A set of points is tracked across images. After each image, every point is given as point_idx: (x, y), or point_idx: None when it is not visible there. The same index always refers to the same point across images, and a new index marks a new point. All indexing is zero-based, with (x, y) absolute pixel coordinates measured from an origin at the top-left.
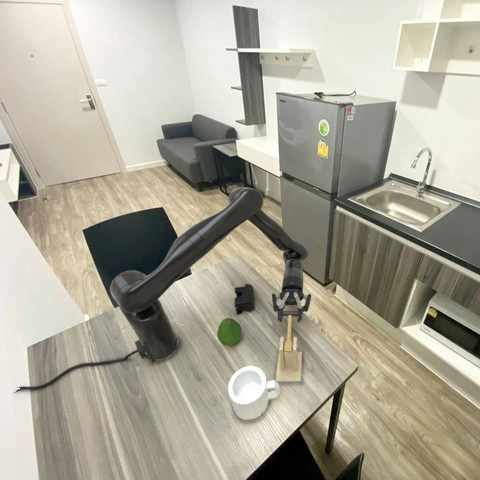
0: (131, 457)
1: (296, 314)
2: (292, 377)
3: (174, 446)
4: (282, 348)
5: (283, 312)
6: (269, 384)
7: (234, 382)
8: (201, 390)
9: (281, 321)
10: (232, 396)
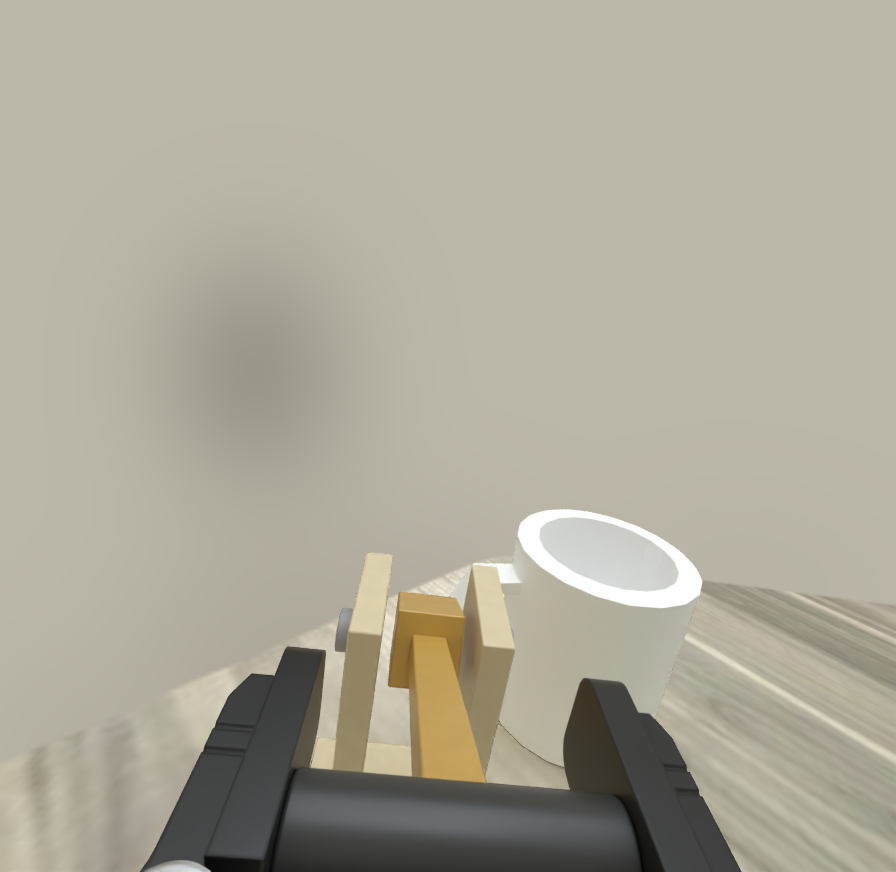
0: (818, 613)
1: (325, 772)
2: (369, 762)
3: (733, 617)
4: (474, 571)
5: (606, 809)
6: (502, 573)
7: (671, 579)
8: (833, 766)
9: (570, 725)
10: (638, 529)
